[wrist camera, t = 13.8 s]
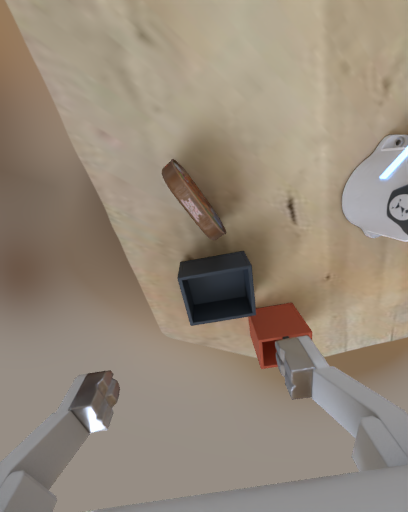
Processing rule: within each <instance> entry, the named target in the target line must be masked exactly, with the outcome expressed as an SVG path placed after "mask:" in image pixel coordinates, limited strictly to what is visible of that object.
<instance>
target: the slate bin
mask: <svg viewBox="0 0 408 512" xmlns="http://www.w3.org/2000/svg"><path fill="white" fill-rule="evenodd" d="M178 282H179V285H180V289H181V293H182V296H183V300H184V303H185V307H186V311H187V314H188V318H189V322H190V325H191V326H193V325H199V324H205V323H211V322H218V321H224V320H230V319H236V318H242V317H248V316H254V315H256V308H255V297H254V286H253V275H252V265H251V263H250V261H249V260H248V258H247V256H246V254H245V252H244V251H241V252H235V253H229V254H224V255H218V256H213V257H207V258H201V259H196V260H190V261H185V262H180V267H179V273H178Z"/></svg>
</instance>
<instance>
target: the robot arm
mask: <svg viewBox="0 0 408 512" xmlns="http://www.w3.org/2000/svg"><path fill="white" fill-rule="evenodd" d="M396 141H397V144H396ZM342 209H343V212H344V215H345V217H346V218H347V219H348V220H349V221H350V222H351V223H352V224H354V225H356V226H358V227H360V228H361V229H362V230H363V232H364V234H365V235H366V236H367V237H370V238H376V237H379V236H386V237H390V238H393V239H397V240H401V241H405V242H408V135H388V136H386V137H385V138H384V139H383V140H382V141H381V142H380V144H379V145H378V146H377V148H376V149H375V151H374V152H373V153H372V154H371V155H370V156H369V157H368V158H367V159H366V160H364V161H363V162H362V163H361V164H360V165H359V166H358V167H357V168H356V169H355V170H354V172H353V173H352V174H351V176H350V178H349V179H348V181H347V183H346V185H345V188H344V191H343V195H342ZM275 348H276V350H277V352H276V360H277V365H278V367H279V370H280V373H281V375H283V376H284V377H285V385H286V387H287V389H288V392H289V394H290V396H291V399H292V400H293V399H300V398H309V397H312V399H313V400H315V402H316V403H318V404H319V405H320V406H321V407H322V408H323V409H324V410H325V411H326V412H327V413H328V414H330V415H331V416H332V417H333V418H334V419H335V420H336V421H337V422H338V423H339V424H341V426H343V427H344V428H345V429H346V430H347V431H348V432H349V433H350V434H351V435H352V436H353V437H355V438H356V441H355V444H354V449H353V453H352V458H353V460H354V462H355V464H356V466H357V468H358V469H359V471H360V472H354V473H347V474H340V475H333V476H326V477H319V478H312V479H305V480H298V481H291V482H285V483H277V484H271V485H264V486H257V487H250V488H244V489H236V490H230V491H222V492H215V493H209V494H201V495H195V496H188V497H181V498H174V499H167V500H160V501H153V502H146V503H139V504H132V505H126V506H118V507H112V508H105V509H98V510H91V511H84V512H408V414H407V413H406V412H405V411H404V410H403V409H401V408H400V407H398V406H397V405H395V404H393V403H392V402H390V401H388V400H387V399H385V398H384V397H382V396H380V395H379V394H377V393H376V392H374V391H372V390H371V389H369V388H367V387H366V386H364V385H363V384H361V383H360V382H358V381H356V380H355V379H353V378H352V377H350V376H348V375H347V374H345V373H344V372H342V371H340V370H339V369H337V368H335V367H334V366H331V367H330V366H329V365H328V363H327V362H326V360H325V359H324V357H323V356H322V354H321V353H320V352H319V350H318V349H317V347H316V346H315V344H314V343H313V341H312V340H311V338H310V337H309V336H308V335H306V336H300V337H293V338H288V339H282V340H277V341H275ZM112 377H113V373H112V372H111V371H102V372H95V373H88V374H82V375H79V376H77V377H76V379H75V380H74V382H73V384H72V385H71V387H70V389H69V390H68V392H67V394H66V396H65V397H64V399H63V401H62V403H61V404H60V406H59V408H58V410H57V411H56V413H52V414H51V415H50V416H49V417H48V418H47V419H46V420H45V421H44V422H43V423H42V424H41V425H40V426H38V427H37V428H36V429H35V430H34V431H33V432H32V433H31V434H30V435H29V436H28V437H27V438H26V439H25V440H24V441H23V442H21V443H20V444H19V445H18V446H17V447H16V448H15V449H14V450H13V451H12V452H11V453H10V454H9V455H8V456H7V457H6V458H4V459H3V460H2V461H1V462H0V512H52V511H53V509H54V507H55V504H56V502H57V498H56V496H55V495H54V494H52V493H51V492H50V491H49V489H50V488H51V486H52V485H53V483H54V482H55V481H56V479H57V478H58V477H59V475H60V474H61V473H62V471H63V470H64V468H65V467H66V466H67V465H68V463H69V462H70V460H71V459H72V458H73V456H74V455H75V454H76V452H77V451H78V450H79V448H80V447H81V445H82V444H83V443H84V441H85V440H86V439H87V437H88V436H89V435H90V434H89V433H93V432H98V431H103V430H108V427H109V424H110V421H111V418H112V415H113V410H112V407H113V406H114V405H115V404H116V403H117V400H118V397H119V391H120V387H119V384H118V382H117V380H115V379H113V378H112Z"/></svg>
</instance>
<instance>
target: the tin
mask: <svg viewBox="0 0 408 512" xmlns="http://www.w3.org/2000/svg"><path fill="white" fill-rule="evenodd" d="M162 176H163V178H164V181H165V182H166V184H167V186H168V187H169V189H170V190H171V192H172V193H173V194H174V196H175V197H176V198H177V200H178V201H179V202H180V204H181V205H182V206H183V207H184V209H185V210H186V211H187V212H188V214H189V215H190V216H191V218H192V219H193V220H194V221H195V223H196V224H197V225H198V226H199V227H200V229H201V230H202V231H203V232H204V233H205V234H206V235H207V236H208V237H209V238H210V239H212V240H216V239H218V238H219V237H221V236H222V235H224V234H226V230H225V228H224V226H223V224H222V222H221V220H220V218H219V217H218V215H217V214H216V212H215V211H214V209H213V208H212V206H211V205H210V204H209V202H208V201H207V200H206V198H205V197H204V195H203V194H202V193H201V191H200V190H199V189H198V187H197V186H196V184H195V183H194V182H193V180H192V179H191V177H190V176H189V175H188V174H187V172H186V171H185V170H184V169H183V167H182V166H181V165H180V164H179V163H178V162H177V161H175V160H174V159H172V160H171V162H169V163H168V164H167V165H166V166H165V167H164V168H163V169H162Z"/></svg>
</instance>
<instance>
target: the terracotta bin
mask: <svg viewBox="0 0 408 512" xmlns="http://www.w3.org/2000/svg"><path fill="white" fill-rule="evenodd" d="M249 325H250V334H251V338H252V342H253V345H254V348H255V351H256V354H257V358H258V361H259V364H260V367H261V369H265V368H271V367H278V365H277V360H276V352H277V350H276V348H275V341H277V340H282V339H288V338H293V337H300V336H306V335H308V336H309V337H310V338H311V340H312V331H311V329H310V328H309V326H308V325H307V324H306V322H305V321H304V319H303V318H302V316H301V315H300V313H299V312H298V311H297V309H296V308H295V306H294V305H293V303H287V304H280V305H274V306H268V307H262V308H256V315H254V316H249Z"/></svg>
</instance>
